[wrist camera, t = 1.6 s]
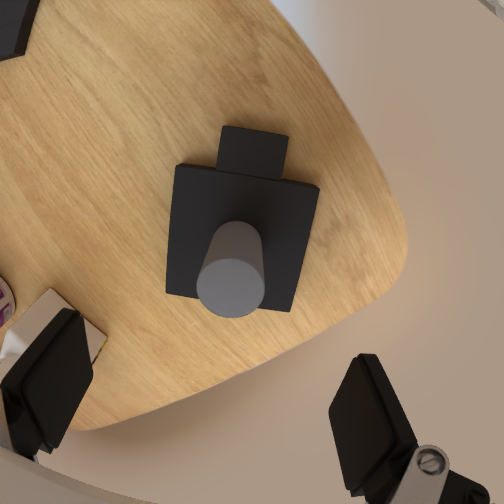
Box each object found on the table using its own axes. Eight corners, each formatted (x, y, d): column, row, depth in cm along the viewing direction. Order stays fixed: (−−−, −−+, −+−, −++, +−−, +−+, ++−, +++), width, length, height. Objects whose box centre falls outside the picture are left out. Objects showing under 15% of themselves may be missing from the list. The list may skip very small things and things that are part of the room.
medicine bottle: (81, 370, 27) (34, 457, 15) (30, 326, 25) (-32, 402, 14) (109, 336, 25) (53, 439, 14) (51, 285, 23) (-30, 368, 12)
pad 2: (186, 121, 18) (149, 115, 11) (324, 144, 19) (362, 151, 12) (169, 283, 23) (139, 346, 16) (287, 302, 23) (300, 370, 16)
